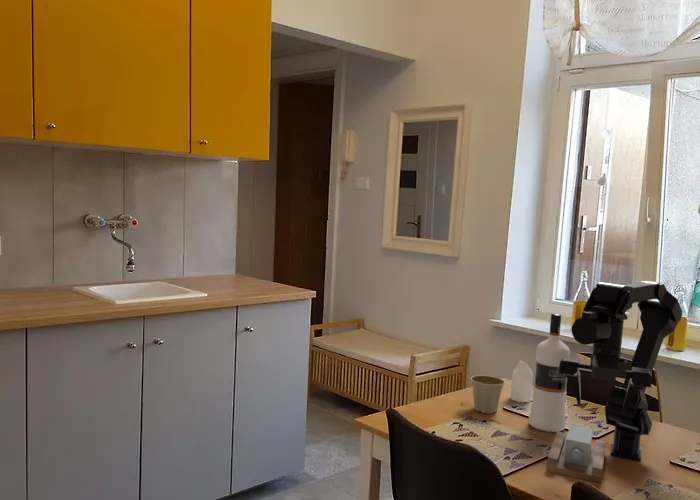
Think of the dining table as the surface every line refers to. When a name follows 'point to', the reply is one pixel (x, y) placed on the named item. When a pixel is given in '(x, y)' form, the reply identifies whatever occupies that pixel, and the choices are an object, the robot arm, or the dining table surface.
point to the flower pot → (486, 393)
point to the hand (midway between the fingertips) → (600, 409)
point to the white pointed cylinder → (521, 383)
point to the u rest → (573, 469)
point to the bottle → (578, 445)
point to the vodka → (549, 382)
